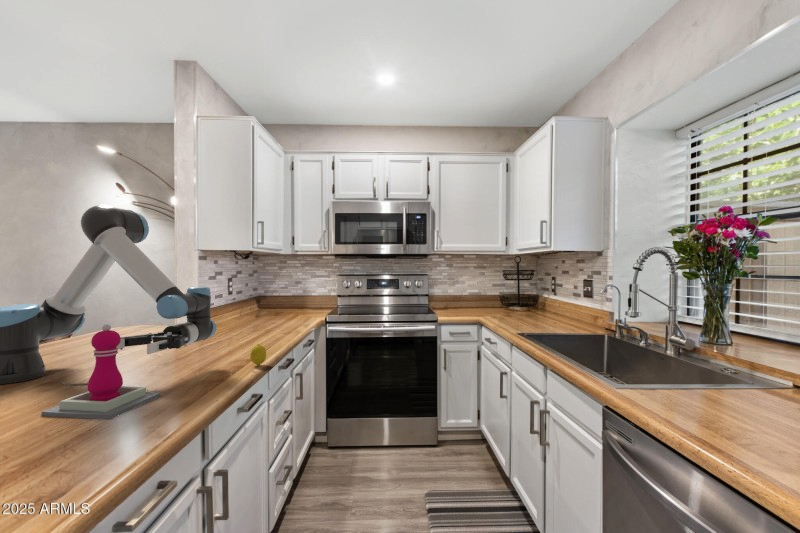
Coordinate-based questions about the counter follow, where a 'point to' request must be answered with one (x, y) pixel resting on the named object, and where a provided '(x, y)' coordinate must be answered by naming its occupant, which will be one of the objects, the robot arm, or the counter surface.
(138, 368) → the counter surface
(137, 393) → the pocket board
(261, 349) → the lemon
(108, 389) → the pepper mill
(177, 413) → the counter surface
